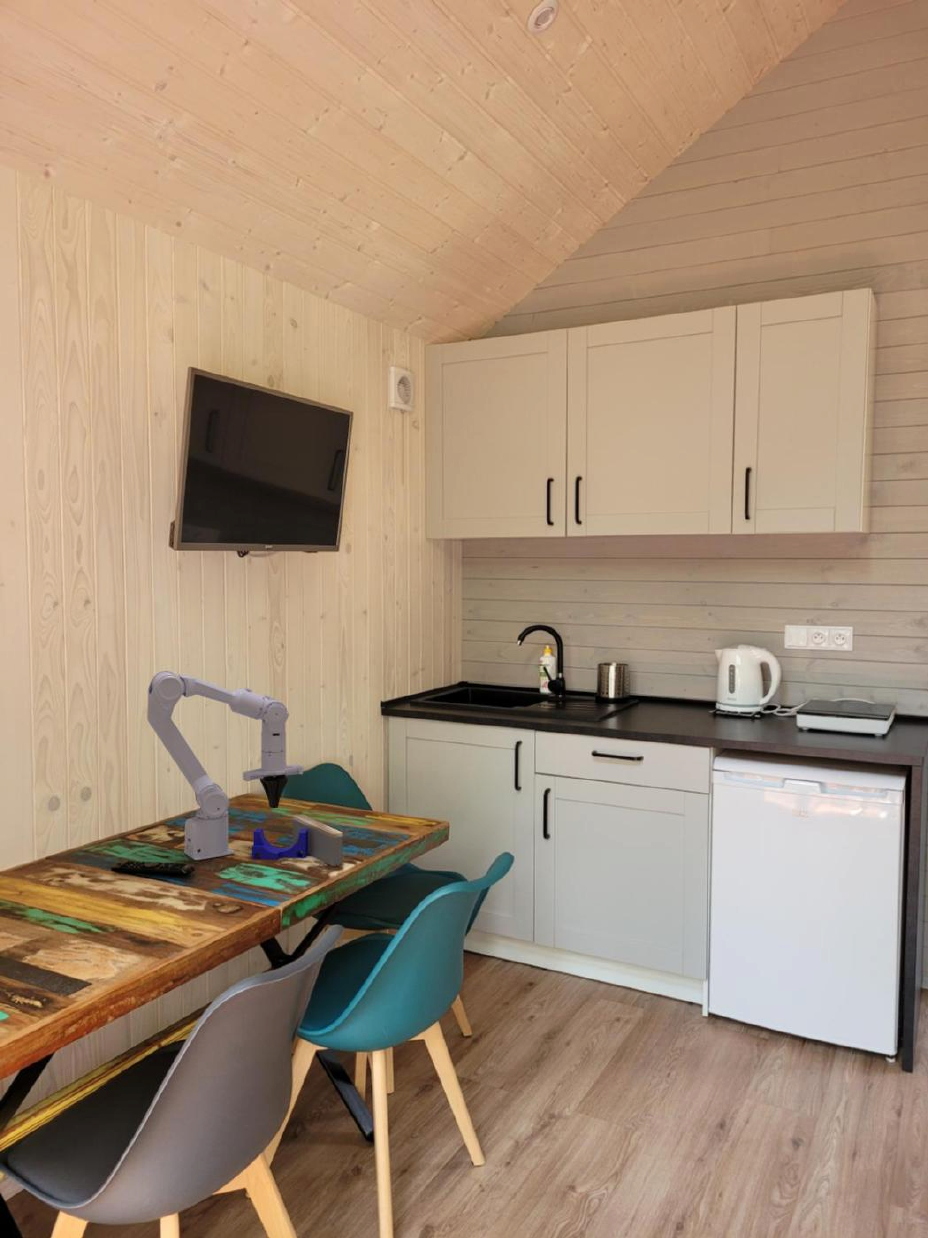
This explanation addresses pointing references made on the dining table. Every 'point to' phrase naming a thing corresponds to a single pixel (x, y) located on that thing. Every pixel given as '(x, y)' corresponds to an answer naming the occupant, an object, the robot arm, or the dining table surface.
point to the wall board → (320, 839)
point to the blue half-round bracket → (268, 851)
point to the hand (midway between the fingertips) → (273, 807)
